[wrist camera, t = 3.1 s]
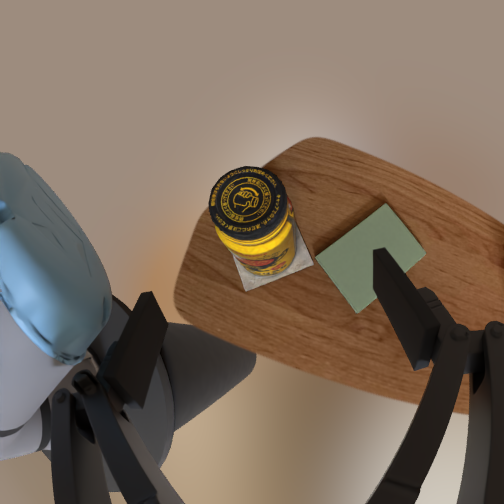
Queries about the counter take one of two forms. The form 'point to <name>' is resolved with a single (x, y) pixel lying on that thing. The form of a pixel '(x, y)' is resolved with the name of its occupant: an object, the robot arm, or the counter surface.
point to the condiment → (257, 225)
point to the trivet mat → (368, 255)
